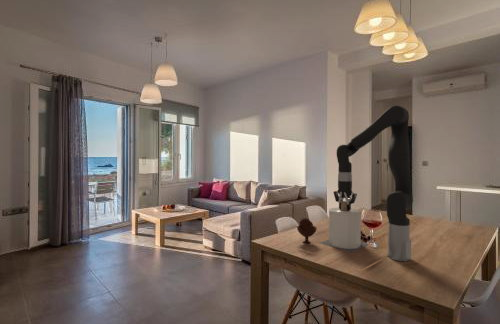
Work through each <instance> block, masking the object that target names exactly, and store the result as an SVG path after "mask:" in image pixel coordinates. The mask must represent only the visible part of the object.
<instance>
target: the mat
mask: <svg viewBox="0 0 500 324" xmlns="http://www.w3.org/2000/svg"><path fill="white" fill-rule="evenodd" d="M319 244H321V245H324V246H328V247H331V248H334V249H337V250H340V251H345V252H347V253H350V254H351V253H353V252H356V251H359V250H360V249H363V248H366V247H368V246H370V245H371V244H370V243H367V242H364V241H361V247H358V248H355V249H344V248H338V247H335V246H332V245H331V244H329V239H327V240H324V241H321V242H319Z"/></svg>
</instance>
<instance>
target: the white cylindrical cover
mask: <svg viewBox="0 0 500 324" xmlns="http://www.w3.org/2000/svg"><path fill="white" fill-rule="evenodd" d="M361 220H362V211H361V210H360V209H357V208H352V207H351V210H350V211H347V201H346V200H343V201H341V210H340V209H339V206H338V207H331V208H329V209H328V240H329V244H331V245H332V246H335V247H338V248H344V249H355V248H358V247H361V242H362V241H361V235H362V234H361V231H362V229H361V226H362V221H361Z"/></svg>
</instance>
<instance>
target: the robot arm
mask: <svg viewBox="0 0 500 324" xmlns="http://www.w3.org/2000/svg"><path fill="white" fill-rule="evenodd" d="M409 119H410V115H409V111H408V110H407V109H406V108H405V107H403V106H400V105H392V106H390V107H388V108H387V109H386V110H385V111H384V112H383V113H382V114H381V115H380V116H379V117H378V118H377V119H375V121H373V122H372V123H371V124H370V125H369V126H368V127H366V128H365V129H363V130H362V131H360V132H359V133H357V134H356V135H355V136H353V137H352V138H351V139H350V141H349V142H348V143H346V144H340V145H338V147H337V149H336V160H337V164H338V174H337V189H338V190H335V191H333V196H334V199H335V202H337V203H338V207H339V209H340V210H341V201H344V199H345V201H347V211H350V210H351V208H352V204H355V201H356V200H357V199H356V198H357V196H358V193H354V192H353V190H352V189H353V174H352V173H353V172H352V171H353V170H352V169H353V167H352V166H353V165H352V162H351V161H350V158H351V157H352V156H354V155H355V154H357V152H358V151H359V150H360V149H361V148H363V147H365V146H366V145H368V144H369V143H370V142H371V141H373V140H374V139H375V138H376V137H377V136H378V135H379V134H380V133H382V132H383V131H384V130H385V129H387V128H388V129H389V128H390V130H391V138H390V143H389V146H388V154H387V155H388V159H387V160H388V165H389V166H388V167H389V169H390V173H391V174H392V176H393V179H394V187H395V188H394V191H392V192H390V193H388V195H387V197H386V217H387V221H388V230H387V231H388V235H387V236H388V238H387V239H388V240H387V247H388V249H387V255H388V258H390V259H391V260H395V261H399V262H404V263H406V262H409V261H410V260H411V259H412V239H410V232H411V231H410V230H411V227H410V226H411V225H410V224H411V222H410V221H411V220H410V218H409V217H408V216H407V209H409V208H411V207H412V206H413V202H414V196H413V191H412V184H411V168H410V167H411V166H410V165H411V161H410V160H411V159H410V146H409V145H410V144H409V135H408V134H409V133H408V132H409V131H408V130H409V129H408V128H409ZM349 157H350V158H349Z"/></svg>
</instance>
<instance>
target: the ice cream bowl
mask: <svg viewBox="0 0 500 324" xmlns="http://www.w3.org/2000/svg"><path fill="white" fill-rule="evenodd" d="M296 228H297V232H298V233H299V235H301V236H302V237H305V238H304V240H303V241H302V244H304V245H311V244H312V242H311V241H310V240H309V238H310V237H312V236H314V235H315V233H316V231H317V227H316V226H315V225H314V224H313V222H312V221H311V220H310V219H309V218H307V217H303V218H301V219H300V221H299V225H298V226H297V227H296Z"/></svg>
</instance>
